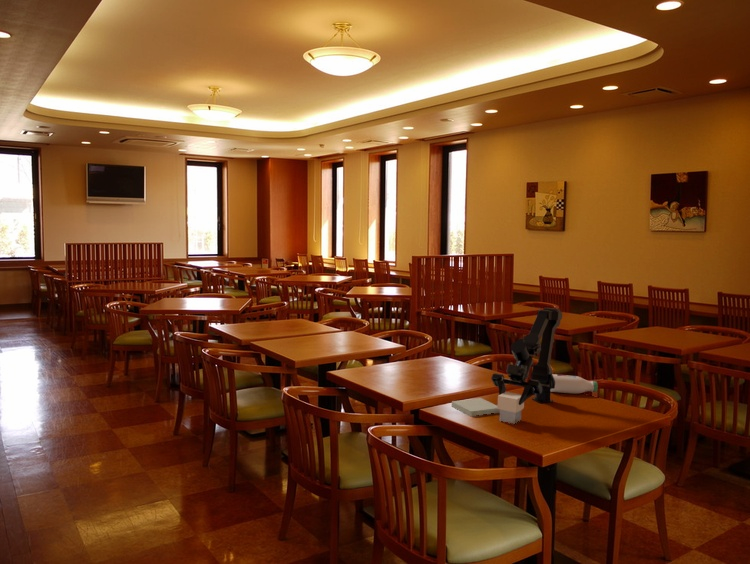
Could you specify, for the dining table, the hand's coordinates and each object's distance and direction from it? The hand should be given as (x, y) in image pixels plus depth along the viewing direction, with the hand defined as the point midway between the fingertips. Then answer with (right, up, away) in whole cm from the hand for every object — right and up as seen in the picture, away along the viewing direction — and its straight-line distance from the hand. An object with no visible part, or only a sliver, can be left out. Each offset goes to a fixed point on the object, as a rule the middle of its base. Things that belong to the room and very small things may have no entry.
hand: (509, 402), depth 227 cm
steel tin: (+1, -7, +2) cm, 8 cm away
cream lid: (+1, -2, +1) cm, 3 cm away
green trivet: (-10, -6, +15) cm, 19 cm away
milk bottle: (+27, 0, +43) cm, 51 cm away
